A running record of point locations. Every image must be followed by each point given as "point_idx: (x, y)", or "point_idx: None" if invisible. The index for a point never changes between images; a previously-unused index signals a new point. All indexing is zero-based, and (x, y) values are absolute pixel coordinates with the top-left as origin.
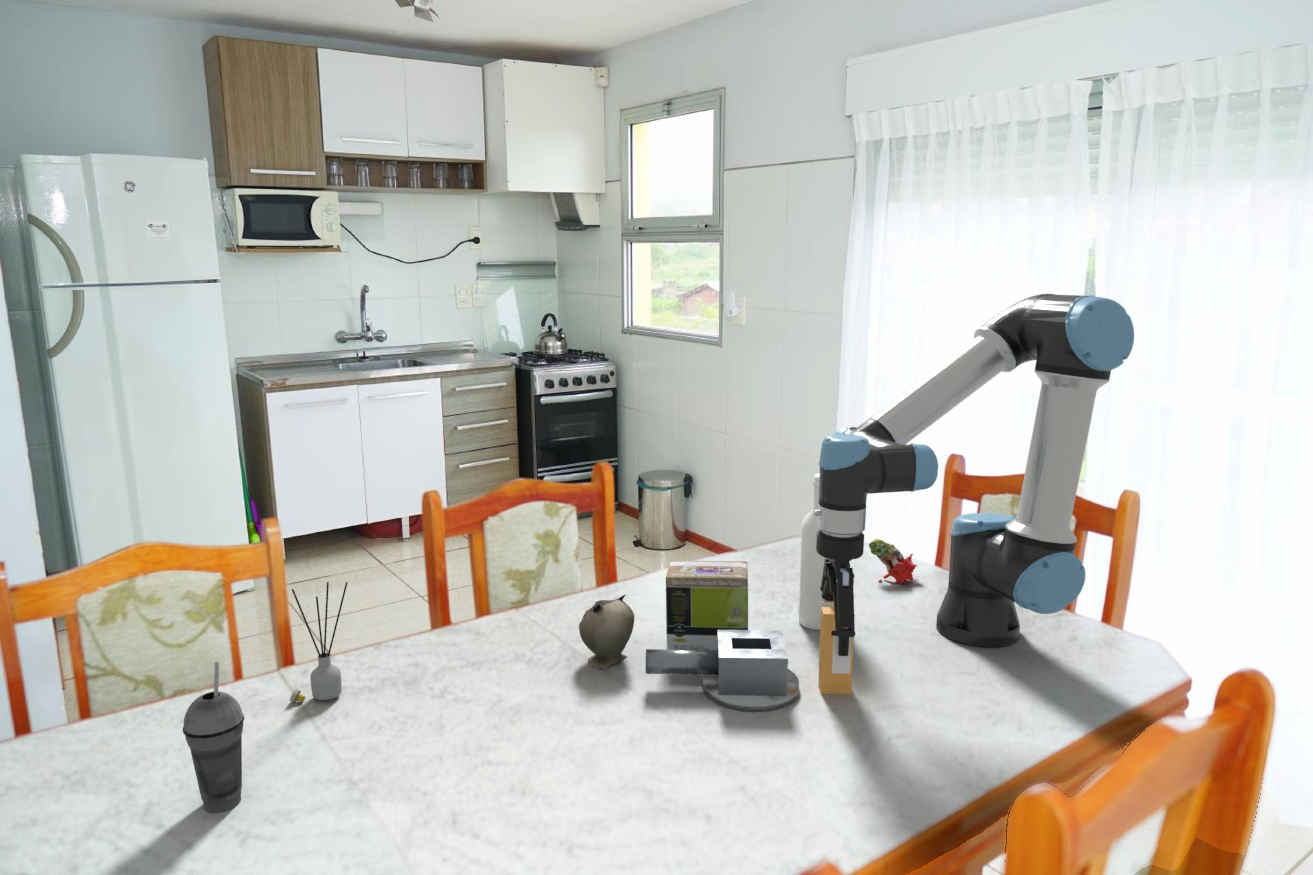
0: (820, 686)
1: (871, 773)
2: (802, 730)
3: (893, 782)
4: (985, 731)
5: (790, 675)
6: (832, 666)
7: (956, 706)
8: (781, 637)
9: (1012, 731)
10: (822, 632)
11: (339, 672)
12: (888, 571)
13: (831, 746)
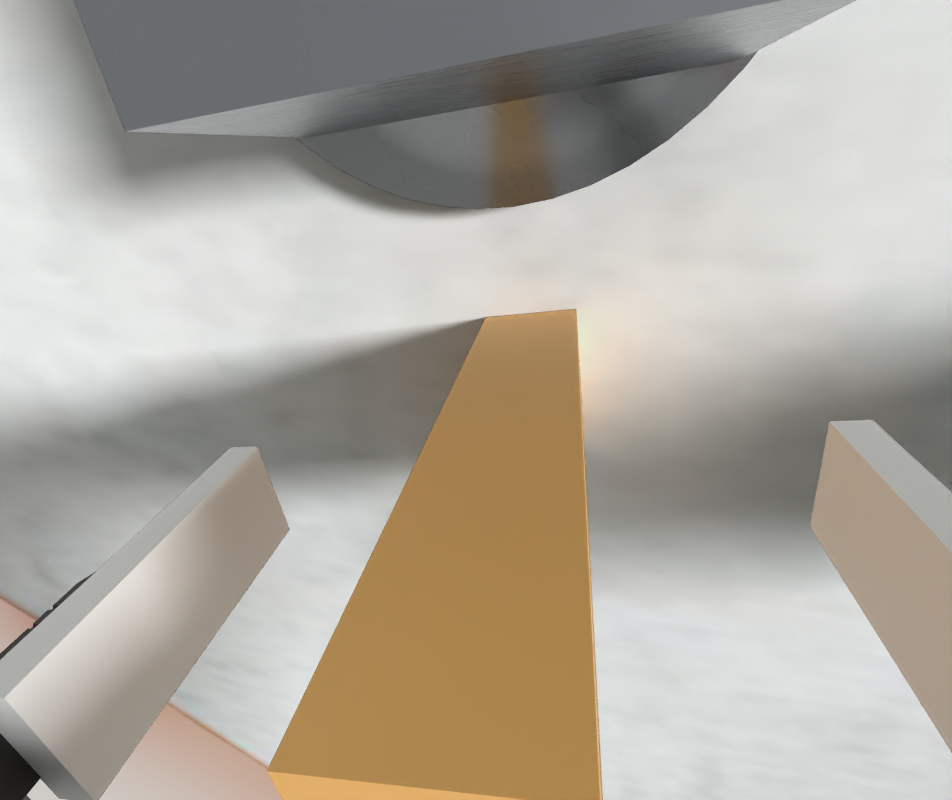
0: (496, 325)
1: (10, 443)
2: (136, 227)
3: (5, 489)
4: None
5: (580, 148)
6: (220, 467)
7: None
8: (642, 1)
9: None
10: (408, 527)
11: None
12: None
13: (84, 339)
